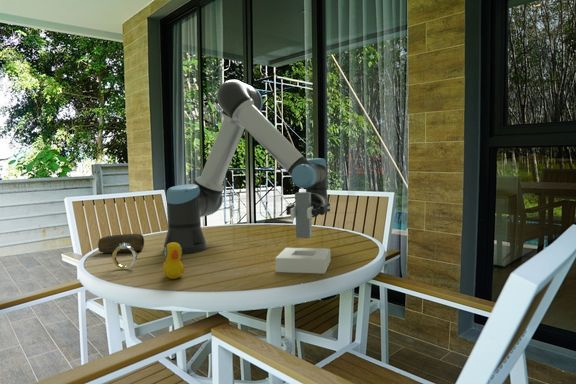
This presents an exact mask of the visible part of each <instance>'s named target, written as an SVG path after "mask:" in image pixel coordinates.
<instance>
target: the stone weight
mask: <svg viewBox="0 0 576 384" xmlns="http://www.w3.org/2000/svg"><path fill="white" fill-rule="evenodd" d="M123 243H127V244H128V243H129V244H130V247H132V248H134V249H135V251H136V252H140V251H142V250H143V249H144V247H145V239H144V235H143V234H141V233H125V234H124V233H123V234H114V235H107V236H103V237H101V238H99V239H98V242H97V247H98V252H100V253H105V254H113V252H114V250H115V249H116V248H117V247H119V246H120V244H121V245H122V244H123ZM121 252H124V253H132V252H131V250H129V249H128V248H125V249H121V248H120V250H119V251H117V253H116V254H121Z"/></svg>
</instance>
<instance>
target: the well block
mask: <svg viewBox="0 0 576 384" xmlns="http://www.w3.org/2000/svg"><path fill="white" fill-rule="evenodd" d="M274 262H275V273H298V274H299V273H301V274H326V272H327V269H328V268H329V265H330V264H331V248H324V247H323V248H319V247H316V248H315V247H314V248H313V247H312V248H311V247H285V248H284V249H283V250H282V251H281V252H280V253H279V254H278V255H277V256H275V261H274ZM329 263H330V264H329Z"/></svg>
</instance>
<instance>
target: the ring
mask: <svg viewBox="0 0 576 384" xmlns="http://www.w3.org/2000/svg"><path fill="white" fill-rule="evenodd" d="M120 248H121V249H125V248H128V249H129V250H131V252H130V253H131V254H132V256H133V257H132V258H133V259H132V262H131V264H130V265H121V264H120V263H119V262H118V260H117V254H118V253H117V251H119V250H120ZM111 254H112V257H111V259H112V262H113V263H114V265H115V266H116V267H117V268H119V269H121V270H124V269H126V270H128V269H130V268H132V267H133V266H134V265H135V264H136V262H137V258H138V254H137V251H135V249H134V248H132V247H130V244H129V243H128V244H127V243H123V244H122V245H121V244H120V246H119V247H117V248H116V249H115V250H114V252H113V253H111Z"/></svg>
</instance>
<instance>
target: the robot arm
mask: <svg viewBox="0 0 576 384" xmlns="http://www.w3.org/2000/svg"><path fill="white" fill-rule="evenodd" d="M216 100H217V103H218V105H219V107H220V108H221V110H222V111H221V116H222V117H223V120H222V122H221V125H220V127H219V130H218V132H217V135H216V137H215V140H214V142H213V144H212V148H211V150H210V153H209V154H208V157H207V160H206V162H205V165H204V167H203V170H202V172H201V175H199V176H197V177H195V179H194V181H193V183H192V184H191V183H190V184H189V183H188V184H180V185H179V184H178V185H175V186H171V187H169V188H168V189H167V190H166V199H165V201H166V214H167V232H166V235H165V239H164V242H163V243H164V244H163V252H164V251H165V247H166V245H167V244H169V243H172V242H176V243H178V244H180V246H181V248H182V254H190V253H198V252H202V251H204V250H206V249H207V247H208V246H207V240H206V237H205V235H204V232H203V230H202V222H201V220H202V219H201V218H202V217H206V216H211V215H213V214H215V213H216V212H218V210H220V209H221V207H222V205H223V202H224V201H223V200H224V197H223V192H224V186H223V182H224V179H225V176H226V174H227V172H228V169H229V167H230V165H231V162H232V160H233V157H234V155H235V154H236V153H235V152H236V149H237V148H238V145H239V142H240V140H241V138H242V136H243V133H244V131H245V130H246V131H247V132H248V133H249V135H251V136H252V137H253V138H254V139H255V141H257V142H258V143H259V144H260V146H262V147H263V149H265V150H266V152H267V153H268V154H269V155H270V156H271V157H272V158H273V159H274V160H275V161H276V162H277V163H278V164H279V165H280V166H281V167H282V168H283V169H284V171H286V172H287V173H288V174H289V176H290V177H291V181H292V182H293V183H292V184H294V185H295V186H297V187H298V188H303V189H304V188H305V192H311V207H309V208H308V209H307V219H310V218H315V217H318V216H319V215H320V216H323V215H325V214H326V213H328V212H331V203H330V202H329V197H328V189H327V188H328V187H327V163H326V162H327V160H326V159H325V158H319V157H317V158H306V157H305V156H304V155H303V154H302V153H301V152H300V151H299V150H298V149H297V148H296V147H295V146H294V145H293V143H291V141H289V140H288V139H287V138H286V137H285V136H284V134H282V133H281V131H279V129H277V128H276V126H274V125H273V123H272V122H271V121H269V119H267V117H266V116H265V115H264V114H263V112H261V111H262V109H263V105H264V100H263V97H262V95H261V93H260V91H259V90H258V89H256V88H255V87H253V86H252V85H249V84H247V83H244V82H242V81H240V80H238V79H229V80H226V81H225V82H223V83H222V84H221V85H220V86H219V87H218V90H217V92H216ZM285 209H286V210H285V211H286V215H287V216H290V219H291V220H292V219H296V209H295V203H292V202H290V203H288V205H286V208H285Z"/></svg>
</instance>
